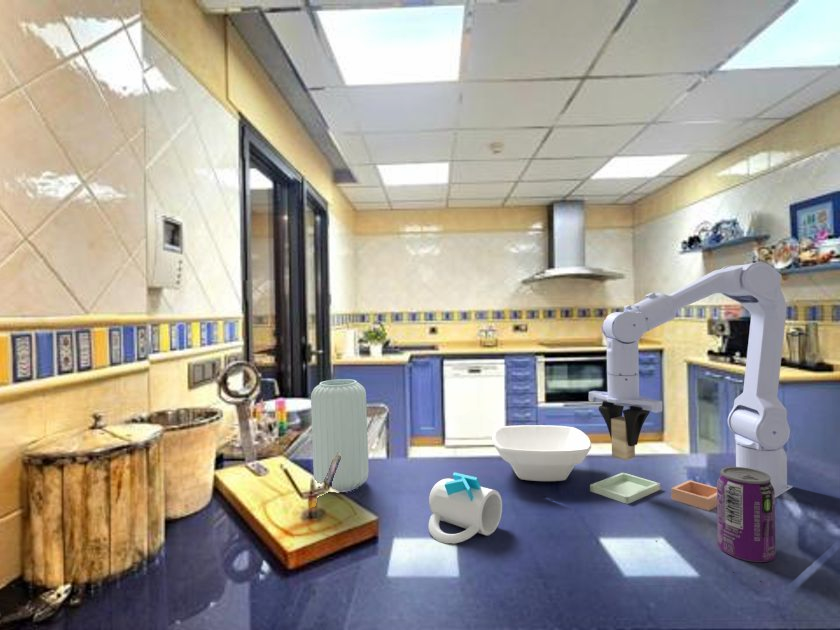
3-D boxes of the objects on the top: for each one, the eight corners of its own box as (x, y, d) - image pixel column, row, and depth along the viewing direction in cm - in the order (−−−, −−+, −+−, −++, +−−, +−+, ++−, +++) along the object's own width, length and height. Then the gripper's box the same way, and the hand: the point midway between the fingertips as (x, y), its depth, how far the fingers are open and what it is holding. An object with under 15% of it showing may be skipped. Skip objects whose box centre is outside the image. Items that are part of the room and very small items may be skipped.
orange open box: (689, 493, 95) (689, 480, 95) (726, 504, 90) (726, 490, 90) (671, 502, 92) (671, 488, 91) (708, 514, 86) (708, 499, 86)
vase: (315, 500, 98) (310, 388, 97) (313, 480, 109) (309, 379, 108) (372, 493, 100) (369, 384, 100) (365, 474, 111) (362, 376, 111)
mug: (436, 458, 90) (493, 471, 82) (450, 497, 93) (505, 513, 85) (397, 503, 82) (456, 523, 74) (413, 544, 85) (471, 567, 77)
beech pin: (620, 453, 98) (620, 416, 98) (634, 457, 96) (634, 418, 95) (611, 456, 96) (611, 418, 96) (625, 460, 94) (625, 421, 94)
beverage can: (785, 569, 68) (784, 483, 68) (729, 565, 70) (728, 481, 70) (761, 544, 75) (760, 466, 75) (710, 541, 77) (709, 464, 76)
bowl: (492, 459, 119) (491, 424, 119) (580, 461, 116) (580, 425, 116) (493, 493, 99) (492, 450, 98) (600, 495, 96) (599, 451, 96)
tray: (623, 480, 103) (622, 472, 103) (660, 492, 96) (660, 483, 96) (590, 493, 96) (589, 484, 96) (627, 507, 90) (627, 497, 90)
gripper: (578, 372, 99) (580, 438, 100) (646, 380, 87) (648, 456, 88) (600, 368, 103) (601, 432, 104) (668, 375, 91) (669, 448, 92)
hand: (624, 443), depth 96 cm, fingers closed on beech pin, 3 cm apart
